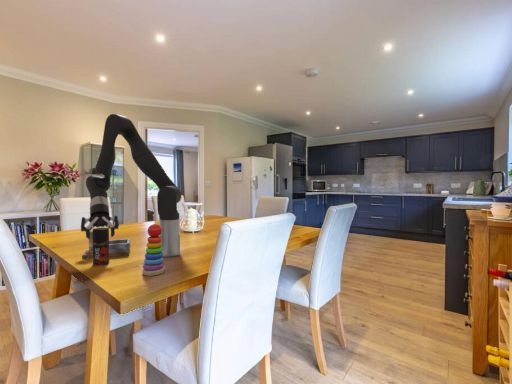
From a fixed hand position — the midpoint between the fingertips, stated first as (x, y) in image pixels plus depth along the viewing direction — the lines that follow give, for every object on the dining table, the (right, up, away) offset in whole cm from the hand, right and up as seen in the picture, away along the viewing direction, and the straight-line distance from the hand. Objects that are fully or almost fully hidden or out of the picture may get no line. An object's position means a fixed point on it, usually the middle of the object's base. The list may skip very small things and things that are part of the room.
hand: (100, 237), depth 110 cm
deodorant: (+1, -11, -2) cm, 12 cm away
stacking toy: (+27, -12, -12) cm, 32 cm away
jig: (-5, -11, +14) cm, 19 cm away
